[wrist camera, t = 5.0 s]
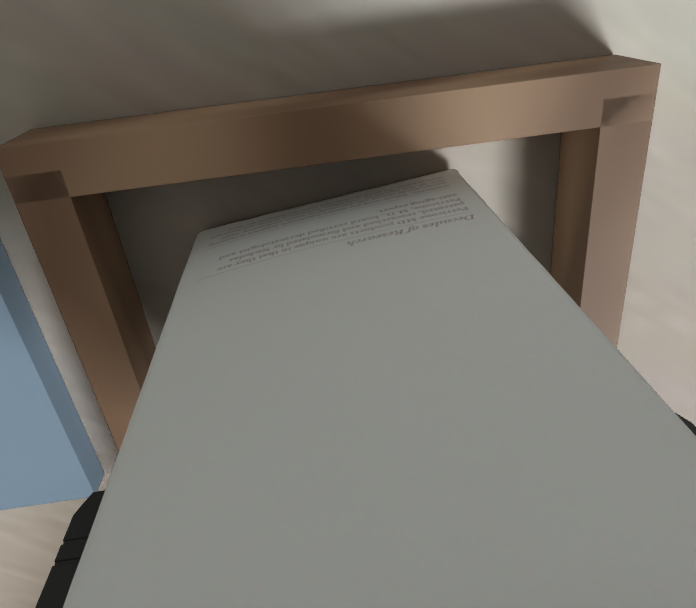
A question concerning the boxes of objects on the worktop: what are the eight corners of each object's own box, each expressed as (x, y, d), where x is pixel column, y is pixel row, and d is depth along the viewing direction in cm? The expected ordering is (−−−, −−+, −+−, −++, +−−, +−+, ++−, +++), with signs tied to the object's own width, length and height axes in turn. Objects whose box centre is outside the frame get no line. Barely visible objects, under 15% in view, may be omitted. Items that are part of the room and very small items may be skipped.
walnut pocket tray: (614, 54, 14) (661, 63, 12) (570, 431, 20) (597, 472, 18) (31, 129, 14) (-7, 149, 12) (166, 489, 20) (155, 538, 18)
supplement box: (189, 226, 15) (-78, 856, 4) (460, 161, 15) (941, 639, 4) (267, 429, 19) (234, 1052, 8) (485, 379, 19) (770, 945, 8)
